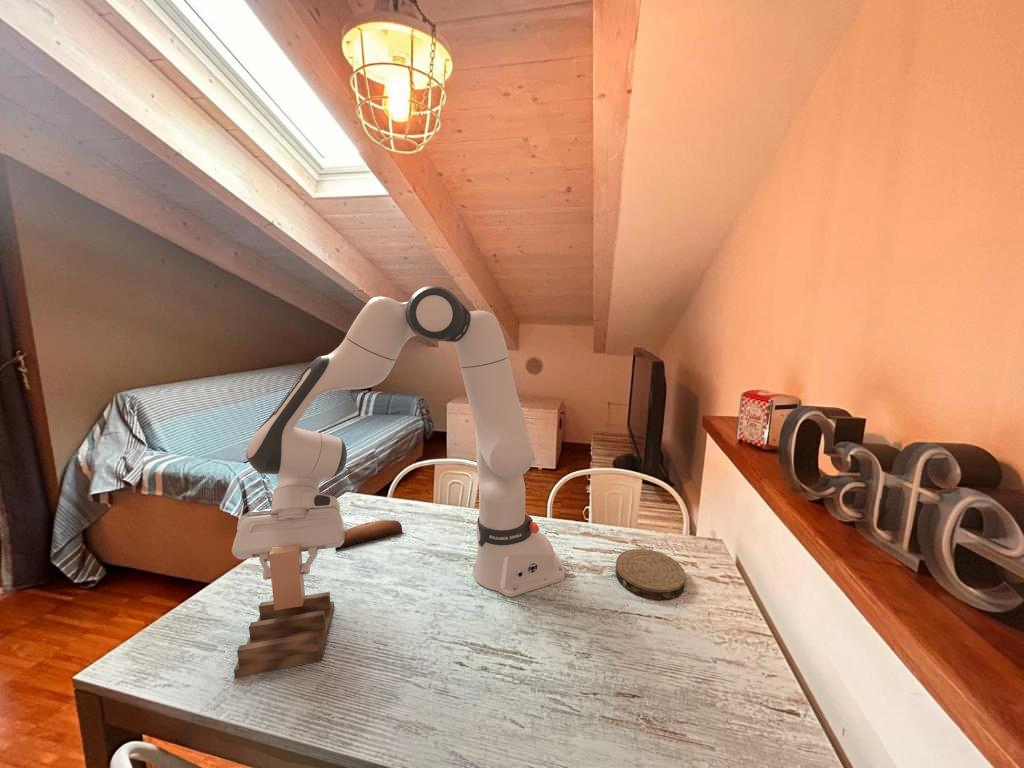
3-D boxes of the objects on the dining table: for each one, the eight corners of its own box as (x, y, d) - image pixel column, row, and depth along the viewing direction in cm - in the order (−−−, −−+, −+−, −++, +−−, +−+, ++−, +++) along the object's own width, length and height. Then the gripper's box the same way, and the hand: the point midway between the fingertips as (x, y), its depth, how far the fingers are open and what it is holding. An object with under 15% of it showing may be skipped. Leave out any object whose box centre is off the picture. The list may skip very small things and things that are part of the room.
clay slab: (305, 597, 83) (300, 544, 80) (302, 606, 80) (297, 550, 78) (278, 602, 81) (272, 547, 79) (274, 610, 79) (268, 554, 77)
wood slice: (644, 552, 109) (645, 542, 108) (699, 586, 96) (700, 574, 95) (601, 572, 100) (602, 561, 100) (654, 612, 87) (655, 599, 87)
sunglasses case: (395, 520, 124) (397, 507, 120) (401, 540, 120) (403, 527, 116) (331, 535, 115) (331, 522, 111) (335, 558, 111) (335, 545, 107)
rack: (334, 607, 88) (332, 588, 87) (321, 660, 74) (319, 639, 73) (261, 619, 84) (259, 600, 83) (234, 677, 71) (231, 655, 70)
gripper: (234, 507, 82) (219, 581, 74) (343, 496, 87) (339, 565, 79) (245, 516, 87) (231, 587, 79) (347, 506, 92) (344, 571, 84)
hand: (286, 576), depth 79 cm, fingers closed on clay slab, 5 cm apart
